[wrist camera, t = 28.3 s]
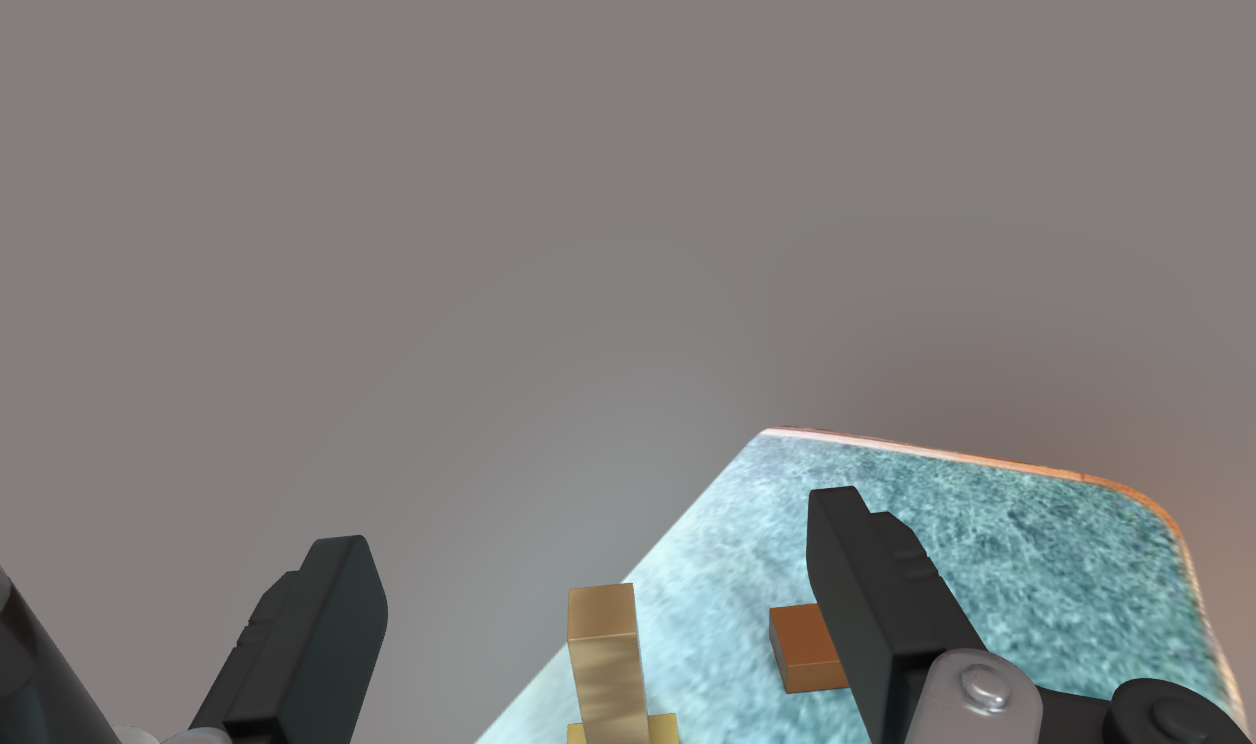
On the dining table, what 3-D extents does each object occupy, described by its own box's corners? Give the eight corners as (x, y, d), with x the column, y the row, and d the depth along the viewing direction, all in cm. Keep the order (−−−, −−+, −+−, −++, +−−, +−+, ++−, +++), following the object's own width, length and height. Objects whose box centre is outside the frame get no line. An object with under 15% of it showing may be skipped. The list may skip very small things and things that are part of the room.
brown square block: (786, 694, 41) (787, 666, 40) (768, 634, 45) (769, 607, 43) (860, 686, 41) (863, 658, 40) (836, 627, 45) (838, 600, 43)
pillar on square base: (570, 840, 35) (530, 663, 28) (572, 746, 39) (537, 576, 33) (688, 827, 35) (674, 648, 28) (677, 735, 39) (662, 563, 33)
